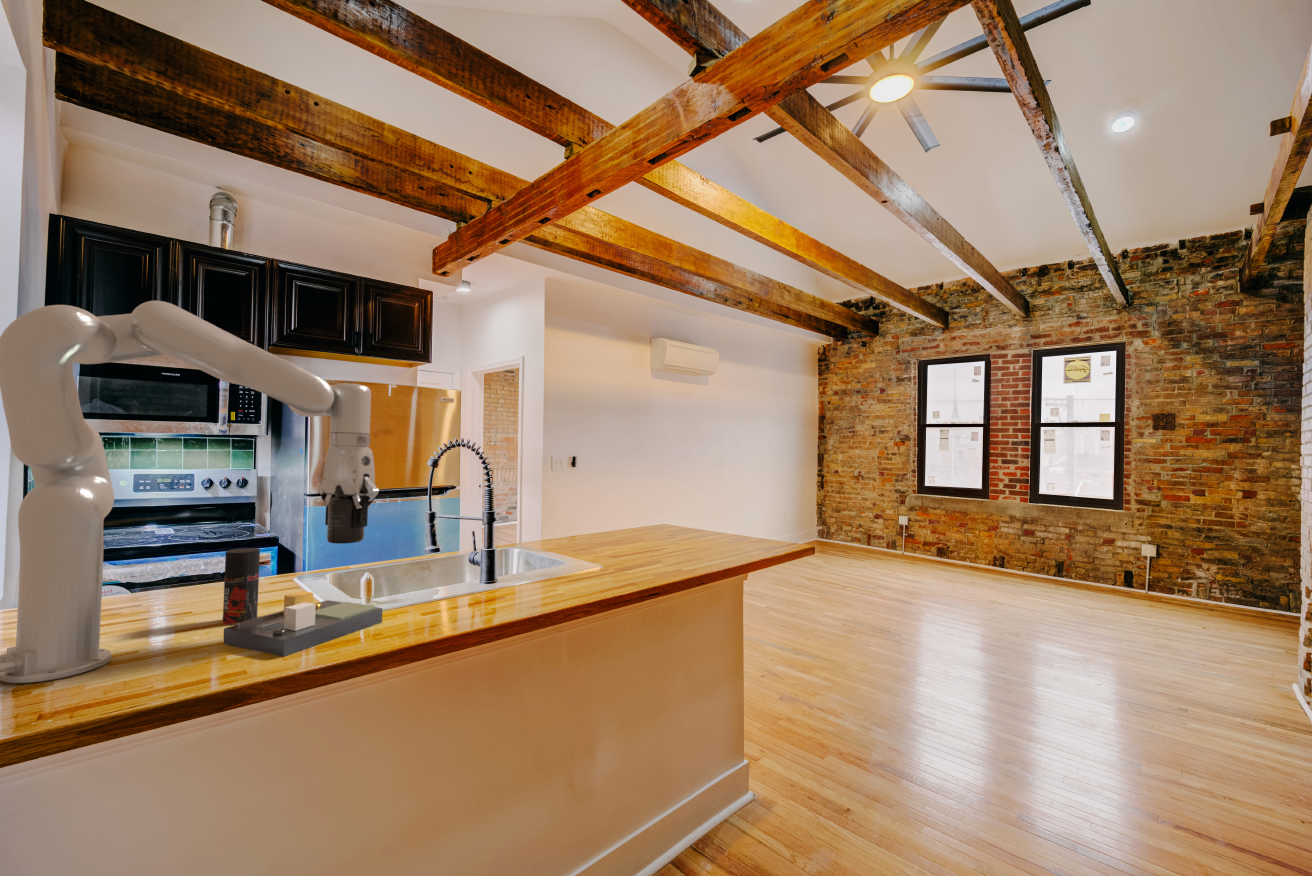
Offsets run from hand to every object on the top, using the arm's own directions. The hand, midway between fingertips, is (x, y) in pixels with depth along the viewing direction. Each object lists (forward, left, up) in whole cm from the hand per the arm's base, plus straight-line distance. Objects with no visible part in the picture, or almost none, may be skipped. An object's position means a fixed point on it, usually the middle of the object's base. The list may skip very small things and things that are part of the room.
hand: (346, 525), depth 118 cm
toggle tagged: (-5, +6, -18) cm, 20 cm away
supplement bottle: (0, 0, -4) cm, 4 cm away
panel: (-6, +2, -21) cm, 22 cm away
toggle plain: (-11, -2, -18) cm, 21 cm away
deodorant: (-6, +22, -21) cm, 32 cm away
